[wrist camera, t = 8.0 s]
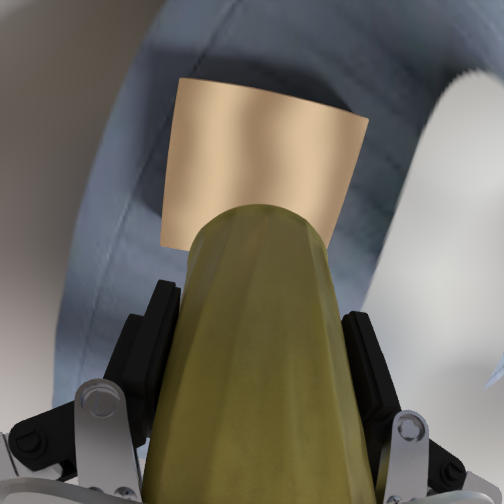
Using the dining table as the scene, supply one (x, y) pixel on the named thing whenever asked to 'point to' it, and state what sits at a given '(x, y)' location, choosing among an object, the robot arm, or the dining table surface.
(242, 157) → the plinth
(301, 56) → the dining table surface
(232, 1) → the dining table surface
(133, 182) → the dining table surface
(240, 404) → the vase
